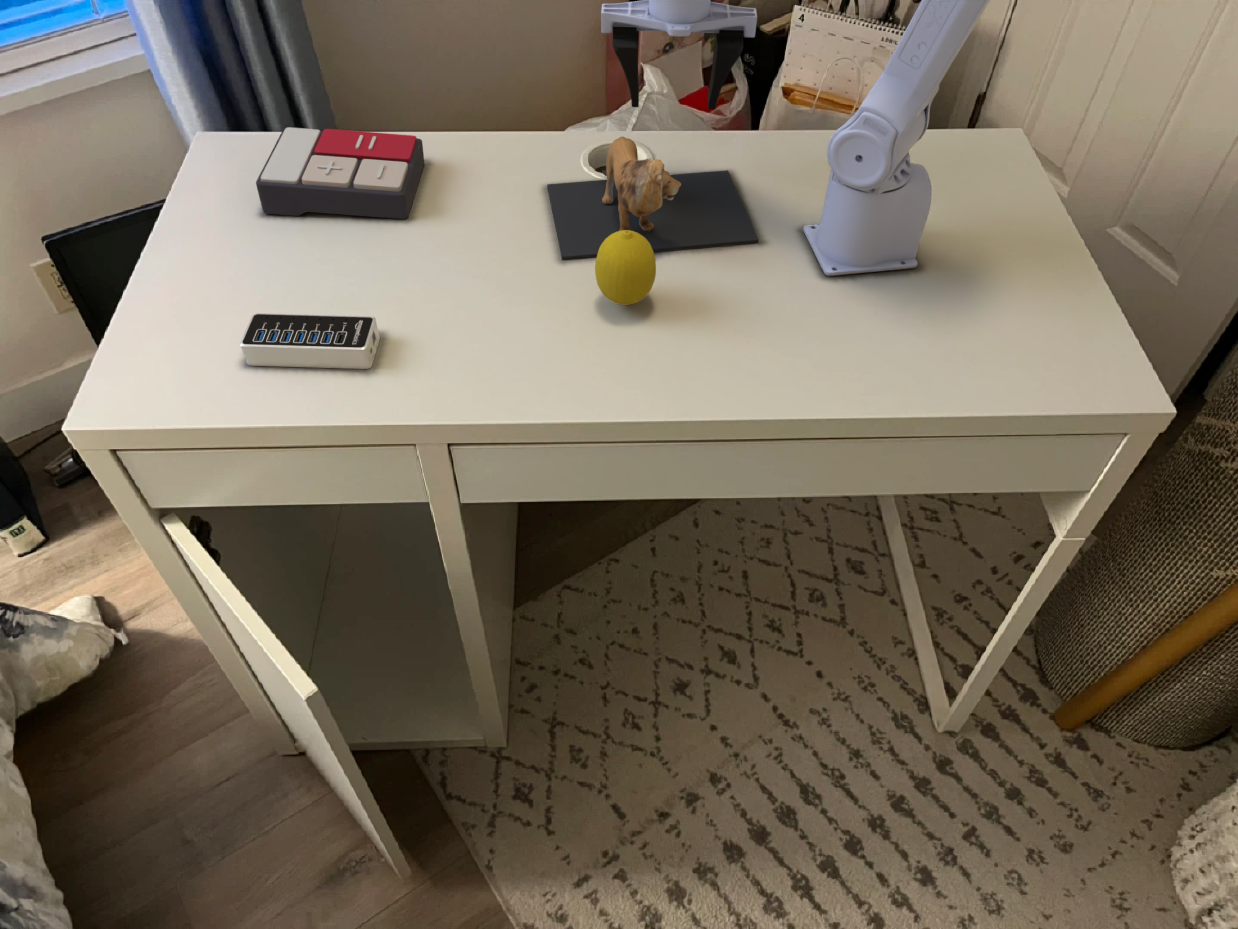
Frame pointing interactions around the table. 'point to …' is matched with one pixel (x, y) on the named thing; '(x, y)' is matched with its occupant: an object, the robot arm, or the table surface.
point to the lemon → (625, 267)
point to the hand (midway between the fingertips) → (673, 103)
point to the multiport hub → (310, 341)
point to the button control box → (341, 173)
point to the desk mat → (653, 216)
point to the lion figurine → (636, 183)
